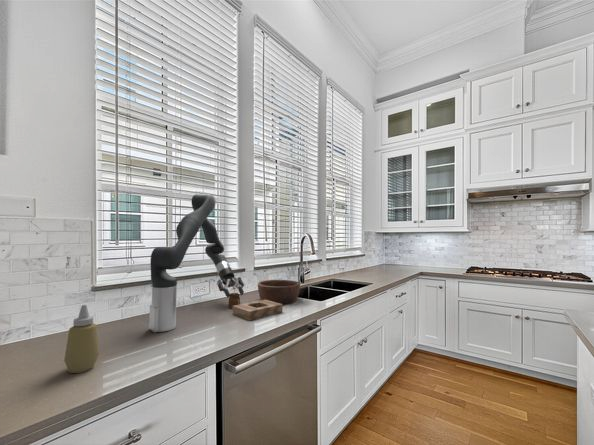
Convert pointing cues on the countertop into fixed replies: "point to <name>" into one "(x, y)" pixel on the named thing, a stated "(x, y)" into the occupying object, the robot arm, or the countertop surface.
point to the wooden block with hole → (257, 309)
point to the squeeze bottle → (82, 343)
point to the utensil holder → (234, 298)
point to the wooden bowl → (279, 290)
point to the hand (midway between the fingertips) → (235, 295)
